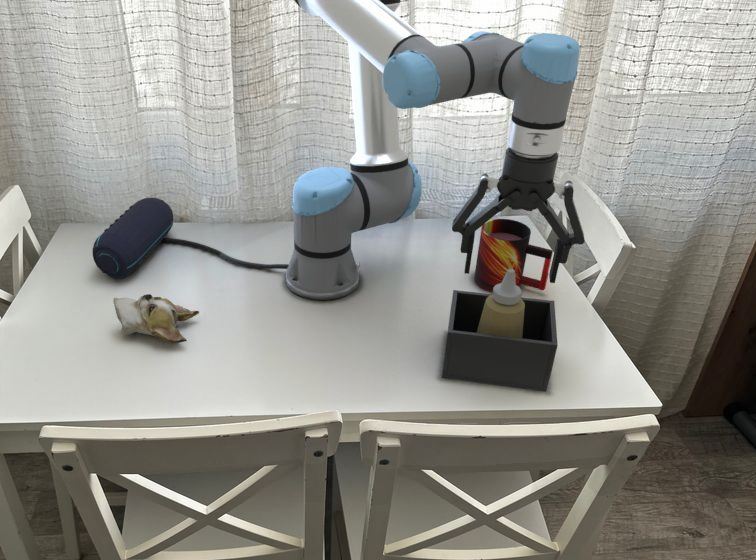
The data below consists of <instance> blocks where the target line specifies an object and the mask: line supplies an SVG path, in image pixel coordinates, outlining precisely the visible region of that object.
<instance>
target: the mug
mask: <svg viewBox="0 0 756 560" xmlns="http://www.w3.org/2000/svg"><path fill="white" fill-rule="evenodd" d="M480 228H481V230H480V236H479V243H478V250H477V256H476V263H475V270H474V277H473V281H474V284H475V285H476V286H477V287H478V288H480V289H481V290H484V291H486V292H490V293H493V288H494V286H495V285H497V284H499V283H502V281H503V279H504V277H505V275H506V272H507V270H508V269H513V270H515V283H516V285H517V286H518V287H520V288H521V285H523V286H526V287H528V288H529V287H530V288H533V289H537V290H539V291H545V290H546V287H547V283H548V277H549V273H550V268H551V263H552V258H553V254H554V249H553V250H552V249H549V248H545V247H541V246H538V245H534V244H530V239H531V234H532V230H531V228H530V227H529V226H528V225H527V224H525V223H523V222H521V221H519V220H515V219H509V218H493V219H490V220H488V221H487V222H486V223H485V224H483V225H482V226H481V227H480ZM527 255H531V256H534V257H539V258H543V259H544V262H543V268H542V271H541V276H540V279H536V278H534V277H533V278H532V277H529V276H525V275H524V271H525V265H526V260H527Z"/></svg>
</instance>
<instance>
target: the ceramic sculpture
mask: <svg viewBox="0 0 756 560" xmlns="http://www.w3.org/2000/svg"><path fill="white" fill-rule="evenodd" d="M112 301H113V306H114V310H115V315H116V318H117V320H118V321H119V323H120V324H121V331H122V332H123V333H124V334H125V335H126V336H132V335H133V334H134V333H139V334H144V335H149V336H153V337H155V338H157V339H158V340H160V341H161V342H163V343H166V344H179V343H184V342H187V341H188V339H186V338H185V337H184V335H182V333H181V332H180V330H179V329H177V328H176V327H177V324H178V322H186V321H188V320H190V319H192V318H194V317H196V316H197V315H199V314H200V311H199V310H189V309H188V308H185V307H184V306H181V305H178V304H174V303H173V302H172V301H171V300H170V299H168V298H162V297H161V296H153V295H152V294H151V293H148V294H143V295H141V296H139V298H138V299H134V298H129V297H114V298H113V300H112Z"/></svg>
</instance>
